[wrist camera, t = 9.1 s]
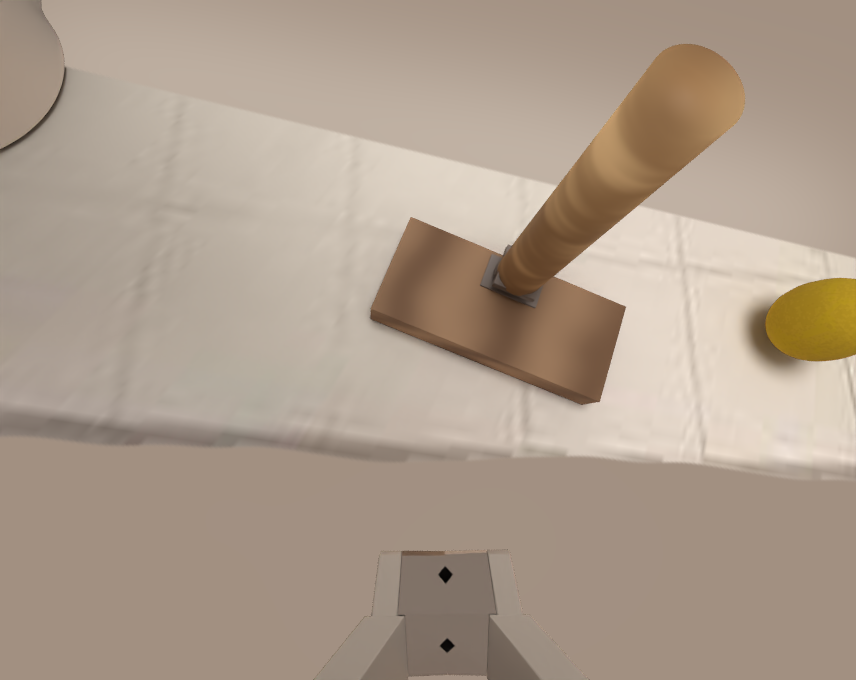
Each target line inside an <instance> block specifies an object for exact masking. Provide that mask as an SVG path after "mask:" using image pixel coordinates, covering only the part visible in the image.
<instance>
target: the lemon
mask: <svg viewBox="0 0 856 680" xmlns="http://www.w3.org/2000/svg"><path fill="white" fill-rule="evenodd" d="M765 326H766V332H767V335H768V337H769V339H770V341H771V342H772V343H773V344H774V346H775V347H776V348H777V349H779V350H780V351H781V352H783V353H785V354H787V355H789V356H791V357H794V358H797V359H801V360H807V361H829V360H837V359H842V358H846V357H850V356H853V355H855V354H856V279H849V278H832V279H824V280H819V281H815V282H810V283H807V284H803V285H801V286H798V287H796V288H794V289H792V290H790V291H789V292H787V293H785V294H784V295H782V296H781V297H779V298H778V299H777V300H776V301H775V303H774V304H773V305H772V306H771V308H770V309H769V311H768V314H767V316H766V322H765Z"/></svg>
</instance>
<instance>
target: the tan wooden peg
mask: <svg viewBox="0 0 856 680" xmlns="http://www.w3.org/2000/svg"><path fill="white" fill-rule="evenodd" d="M744 105H745V93H744V88H743V85H742V82H741V80H740V78H739V76H738V74H737V73H736V71H735V70H734V68H733V67H732V66H731V65H730V64H729V63H728V62H727V61H726V60H725V59H724V58H723V57H721V56H720V55H719V54H717V53H715V52H714V51H712V50H710V49H707V48H705V47H702V46H698V45H693V44H679V45H675V46H672V47H669V48H667V49H665V50H664V51H662V52H661V53H660V54H659V55H658V56H657V57H656V59H655V60H654V61H653V63H652V64H651V65H650V67H649V68H648V69H647V71H646V72H645V73H644V74H643V76H642V77H641V78H640V80H639V81H638V82H637V83H636V85H635V86H634V87H633V89H632V90H631V91H630V92H629V94H628V95H627V96H626V98H625V99H624V101H623V102H622V103H621V104H620V106H619V107H618V108H617V109H616V111H615V112H614V113H613V115H612V116H611V117H610V119H609V120H608V121H607V123H606V124H605V125H604V126H603V128H602V129H601V130H600V132H599V133H598V134H597V136H596V137H595V138H594V139H593V141H592V142H591V143H590V145H589V146H588V147H587V149H586V150H585V151H584V153H583V154H582V155H581V157H580V158H579V159H578V160H577V162H576V163H575V164H574V166H573V167H572V168H571V170H570V171H569V172H568V174H567V175H566V176H565V177H564V179H563V180H562V181H561V182H560V184H559V185H558V186H557V188H556V189H555V190H554V192H553V193H552V194H551V196H550V197H549V198H548V199H547V201H546V202H545V203H544V205H543V206H542V207H541V209H540V210H539V211H538V212H537V214H536V215H535V216H534V218H533V219H532V220H531V222H530V223H529V224H528V226H527V227H526V228H525V229H524V231H523V232H522V233H521V235H520V236H519V237H518V239H517V240H516V241H515V243H514V244H513V245H512V246H510V245H508V246H507V247H506V249H505V251H504V254H503V257H502V259H501V261H500V260H499V261H498V263H497V265H496V267H495V270H494V273H493V275H496V276H495V278H494V281H493V284H492V286H493V287H495V288H498V289H500V290H503V291H505V292H507V293H510V294H512V295H515V296H517V297H520V298H522V299H524V300H527V301H529V302H533V301H534V300H535V299H536V296H537V293H538V290H539V288H540V287H541V286H542V285H544V284H545V283H546V282H547V281H548V280H550V279H551V278H552V277H553V276H554V275H556V274H557V273H558V272H559V271H560V270H562V269H563V268H564V267H565V266H566V265H568V264H569V263H570V262H571V261H572V260H574V259H575V258H576V257H577V256H578V255H580V254H581V253H582V252H583V251H584V250H585V249H587V248H588V247H589V246H590V245H591V244H593V243H594V242H595V241H596V240H597V239H599V238H600V237H601V236H602V235H603V234H605V233H606V232H607V231H608V230H609V229H611V228H612V227H613V226H614V225H615V224H617V223H618V222H619V221H620V220H621V219H623V218H624V217H625V216H626V215H627V214H628V213H630V212H631V211H632V210H633V209H634V208H636V207H637V206H638V205H639V204H640V203H642V202H643V201H644V200H645V199H646V198H648V197H649V196H650V195H651V194H652V193H654V192H655V191H656V190H657V189H658V188H659V187H661V186H662V185H663V184H664V183H665V182H667V181H668V180H669V179H670V178H671V177H672V176H674V175H675V174H676V173H677V172H679V171H680V170H681V169H682V168H683V167H685V166H686V165H687V164H688V163H689V162H691V161H692V160H693V159H694V158H695V157H697V156H698V155H699V154H700V153H701V152H703V151H704V150H705V149H706V148H707V147H708V146H710V145H711V144H712V143H713V142H714V141H716V140H717V139H718V138H719V137H720V136H722V135H723V134H724V133H725V132H726V131H728V130H729V129H730V128H731V127H732V126H734V125H735V124H736V123H737V121H738V120H739V119H740V117H741V115H742V113H743V110H744Z"/></svg>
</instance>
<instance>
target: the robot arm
mask: <svg viewBox="0 0 856 680" xmlns="http://www.w3.org/2000/svg"><path fill="white" fill-rule="evenodd" d="M63 76H64V54H63V50H62V46H61V43H60V41H59V38H58V36H57V34H56V32H55V31H54V29H53V28H52V26H51V25H50V23H49V22H48V20H47V19H46V17H45V15H44V13H43V11H42V9H41V0H0V149H1V148H3V147H5V146H7V145H9V144H11V143H12V142H14V141H16V140H17V139H19V138H20V137H22V136H23V135H25V134H26V133H27V132H28V131H30V130H31V129H32V128H33V127H34V126H35V125H36V124H37V123H38V122H39V121H40V120H41V119H42V118H43V117H44V116H45V115H46V113H47V112H48V111H49V109H50V108H51V106H52V105H53V103H54V101H55V100H56V98H57V96H58V93H59V91H60V88H61V85H62V81H63ZM447 674H448V675H482V676H483V675H484V676H487V679H488V680H589V679H588V678H587V677H586V675H585V674H584V673H583V672H582V671H581V670H580V669H579V668H578V667H577V666H576V665H575V663H574V662H573V661H572V660H571V659H570V658H569V657H568V656H567V655H566V653H565V652H564V651H563V650H562V649H561V648H560V647H559V646H558V645H557V644H556V643H555V641H554V640H553V639H552V638H551V637H550V636H549V635H548V634H547V633H546V632H545V630H544V629H543V628H542V627H541V626H540V625H539V624H538V623H537V622H536V621H535V619H533V617H532V616H531V615H526V614H525V615H524V614H523V611H522V606H521V602H520V597H519V592H518V588H517V583H516V578H515V573H514V569H513V564H512V560H511V555H510V552H509V551H508V550H487V551H486V550H463V551H403V552H402V551H381V553H380V555H379V560H378V568H377V575H376V583H375V591H374V599H373V606H372V614H371V616H368V617H367V616H366V617H364V618H363V619H362V620H361V622H360V623H359V624H358V625H357V627H356V628H355V629H354V630H353V631H352V633H351V634H350V635H349V636H348V638H347V639H346V640H345V642H344V643H343V644H342V645H341V646H340V648H339V649H338V650H337V652H336V653H335V654H334V655H333V656H332V658H331V659H330V660H329V661H328V662H327V664H326V665H325V666H324V667H323V669H322V670H321V671H320V672H319V674H318V675H317V676H316V677H315V678H314V680H408V676H429V675H447Z"/></svg>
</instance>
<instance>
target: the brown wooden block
mask: <svg viewBox="0 0 856 680" xmlns="http://www.w3.org/2000/svg"><path fill="white" fill-rule="evenodd" d="M502 257H503V255H501V254H498V253H496V252H494V251H491V250H489V249H486V248H484V247H482V246H479V245H477V244H474V243H472V242H470V241H467V240H465V239H462V238H460V237H458V236H455V235H453V234H450V233H448V232H446V231H443V230H441V229H438V228H436V227H434V226H431V225H429V224H427V223H424V222H422V221H419V220H417V219H415V218H412V217H411V218H410V220H409V222H408V225H407V227H406V229H405V231H404V234H403V236H402V238H401V241H400V243H399V245H398V247H397V250H396V252H395V254H394V257H393V259H392V261H391V263H390V266H389V268H388V270H387V273H386V275H385V277H384V279H383V282H382V284H381V286H380V289H379V291H378V293H377V295H376V298H375V300H374V302H373V305H372V307H371V319H372V320H374V321H377V322H379V323H382V324H384V325H387V326H389V327H392V328H394V329H397V330H399V331H402V332H404V333H407V334H409V335H411V336H414V337H416V338H419V339H421V340H424V341H426V342H429V343H431V344H434V345H436V346H439V347H441V348H443V349H446V350H448V351H451V352H453V353H456V354H458V355H461V356H463V357H466V358H468V359H471V360H473V361H476V362H478V363H480V364H483V365H485V366H488V367H490V368H493V369H495V370H498V371H500V372H503V373H505V374H508V375H510V376H512V377H515V378H517V379H520V380H522V381H525V382H527V383H530V384H532V385H535V386H537V387H540V388H542V389H544V390H547V391H549V392H552V393H554V394H557V395H559V396H562V397H564V398H567V399H569V400H572V401H574V402H577V403H579V404H581V405H583V404H589V403H595V402H600V399H601V395H602V391H603V388H604V384H605V381H606V377H607V373H608V370H609V366H610V363H611V359H612V355H613V352H614V348H615V345H616V341H617V337H618V334H619V330H620V326H621V323H622V319H623V316H624V312H625V308H626V307H625V306H623V305H620V304H618V303H616V302H613V301H611V300H608V299H606V298H604V297H601V296H599V295H596V294H594V293H592V292H589V291H587V290H585V289H582V288H580V287H577V286H575V285H573V284H570V283H568V282H565V281H563V280H561V279H558V278H556V277H552V278H551V279H550V280H548V281H547V282H546V283H545V284H544V285H542V286H541V287H540V288H539V290H538V293H537V296H536V299H535V300H534V301H533V302H529V301H527V300H524V299H522V298H520V297H517V296H515V295H512V294H510V293H507V292H505V291H503V290H500V289H498V288H495V287H493V286H492V284H493V281H494V278H495V276H496V275H493V273H494V270H495V267H496V265H497V263H498V261H499V260H500V261H501V259H502Z"/></svg>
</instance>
